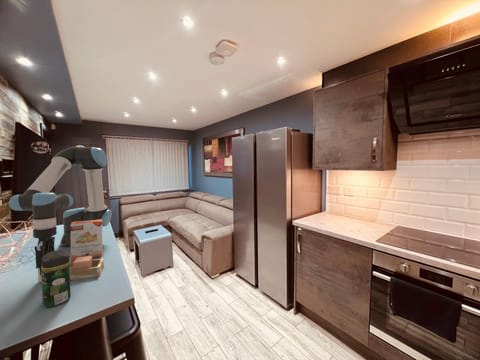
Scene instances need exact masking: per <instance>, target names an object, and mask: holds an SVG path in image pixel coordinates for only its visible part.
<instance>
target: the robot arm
mask: <svg viewBox="0 0 480 360" xmlns="http://www.w3.org/2000/svg"><path fill="white" fill-rule="evenodd" d="M107 164H108V157H107V154H106V152H105V151H104V149H102V148H100V147H94V146H93V147H92V146H91V147H88V146H86V147H85V146H71V147H68V148H67V147H66V149H62V150H61V151H59V152H58V153H56V154H55V155H54V156H53V157H52V158H51V163H50V164H49V165H48V166H47V167H46V168H45V169H44V170H43V171H42V173H40V174H39V176H38V177H37V178H36V180H34V182H33V183H31V185H30V186H29V187H28V188H27V190H25V191H24V192H23V194H16V195H13V196H11V197H10V199H9V202H8V204H9V207H10V208H11V210H13V211H21V212H22V211H23V212H24V211H26V212H27V211H32V221H31V224H32V228H33V230H32V237H33V238H34V239H37V245H36V246H34V252H35V253H34V254H35V269H38V268H39V282H38V283H42V279H41V261H42V257H43V256H44V255H46V254H47V253H48V252H52V251H55V241H56V237H55V235H57V231H58V229H57V212H58V211H61V210H65V211H64V212H63V217H62V219H63V235H62V237H61V240H60V241H59V243H60V245H59V246H60V247H64V248H68V247H69V248H71V223H72V222H78V221H89V220H100V219H102V228H103V227H107V226H108V225H109V224H110V223H111V220H112V216H113V215H112V213H113V212H112V210H111V209H108V205H106V204H105V195H104V186H103V175H102V171H103V170H104V168H105V166H107ZM73 166H81V170H82V171H84V174H85V182H86V184H85V185H86V192H87V199H88V200H87V201H88V207H87V208H86V207H77V208H72V209H68V208H71V206H73V204H74V198H73V196H72V195H70V194H68V193H59V194H56V193H55V192H50V191H52V189H53V188H54V186H55V185H56V184H57V183H58V182H59V180H60V179H61V178H62V176H63V175H64V174H65V173H66V171H67V170H70V169H71V168H72V167H73Z"/></svg>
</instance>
